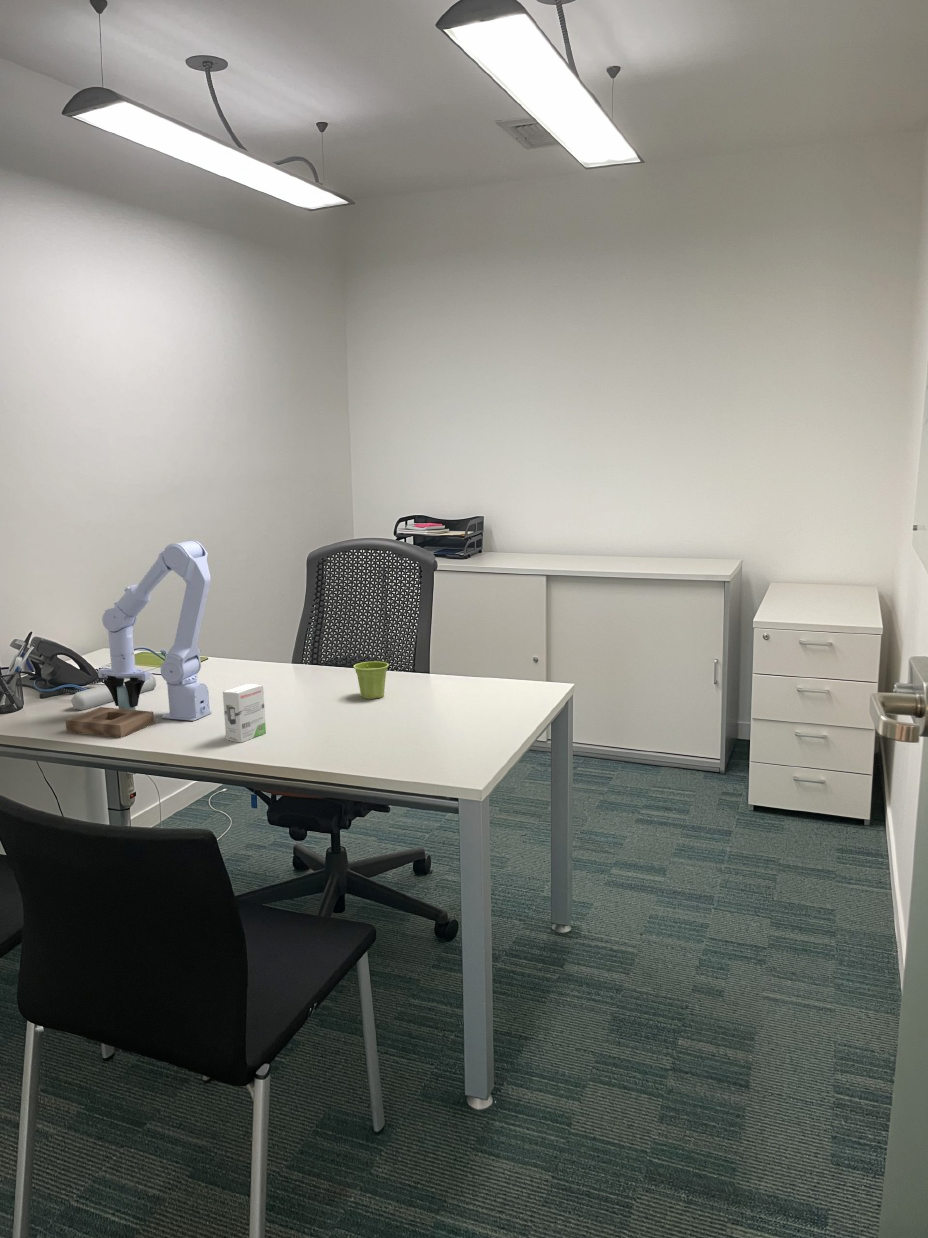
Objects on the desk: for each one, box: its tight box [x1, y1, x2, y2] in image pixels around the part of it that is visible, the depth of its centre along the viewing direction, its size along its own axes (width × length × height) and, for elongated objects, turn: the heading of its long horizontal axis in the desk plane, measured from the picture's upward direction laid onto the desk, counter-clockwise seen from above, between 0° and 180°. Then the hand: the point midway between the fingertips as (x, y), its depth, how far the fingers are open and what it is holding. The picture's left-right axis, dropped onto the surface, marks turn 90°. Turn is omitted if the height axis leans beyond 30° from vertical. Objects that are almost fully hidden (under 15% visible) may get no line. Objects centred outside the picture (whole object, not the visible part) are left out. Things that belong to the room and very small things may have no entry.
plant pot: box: [353, 661, 389, 700], centre depth 247 cm, size 9×9×9 cm
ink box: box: [222, 683, 267, 744], centre depth 213 cm, size 9×5×12 cm, turn 149°
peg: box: [117, 685, 136, 710], centre depth 235 cm, size 4×4×7 cm
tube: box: [70, 672, 157, 711], centre depth 249 cm, size 5×5×25 cm
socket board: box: [65, 706, 155, 738], centre depth 223 cm, size 16×12×3 cm
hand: (126, 705), depth 236 cm, fingers closed on peg, 4 cm apart
